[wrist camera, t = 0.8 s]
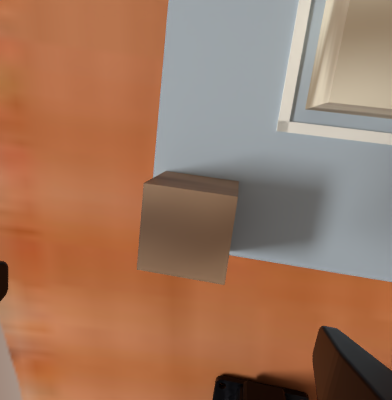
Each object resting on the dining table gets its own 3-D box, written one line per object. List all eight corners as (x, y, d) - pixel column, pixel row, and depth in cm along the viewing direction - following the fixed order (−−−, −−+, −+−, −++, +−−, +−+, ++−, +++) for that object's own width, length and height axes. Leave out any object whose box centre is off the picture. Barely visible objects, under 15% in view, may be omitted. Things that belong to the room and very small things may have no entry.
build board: (402, 279, 20) (408, 286, 19) (150, 238, 21) (146, 242, 21) (502, -59, 15) (516, -69, 15) (178, -76, 17) (175, -86, 16)
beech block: (409, 121, 17) (475, 118, 12) (304, 109, 18) (328, 102, 13) (440, 7, 16) (527, -46, 11) (326, -2, 16) (361, -55, 12)
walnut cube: (228, 251, 20) (224, 284, 16) (159, 239, 21) (136, 269, 16) (239, 181, 19) (238, 196, 15) (165, 170, 20) (143, 183, 15)
